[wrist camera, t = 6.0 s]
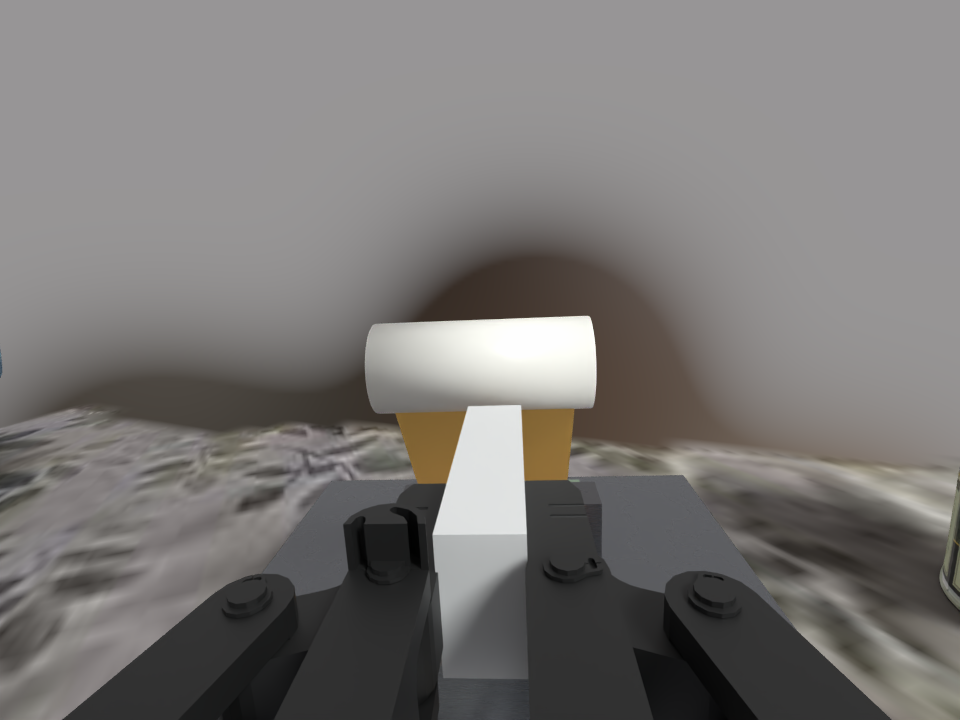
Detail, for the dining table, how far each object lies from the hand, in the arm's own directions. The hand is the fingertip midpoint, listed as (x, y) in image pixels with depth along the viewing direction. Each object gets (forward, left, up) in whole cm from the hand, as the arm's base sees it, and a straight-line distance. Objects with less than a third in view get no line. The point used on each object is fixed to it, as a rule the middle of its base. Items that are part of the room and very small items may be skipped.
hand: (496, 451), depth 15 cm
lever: (-6, +9, -10) cm, 15 cm away
